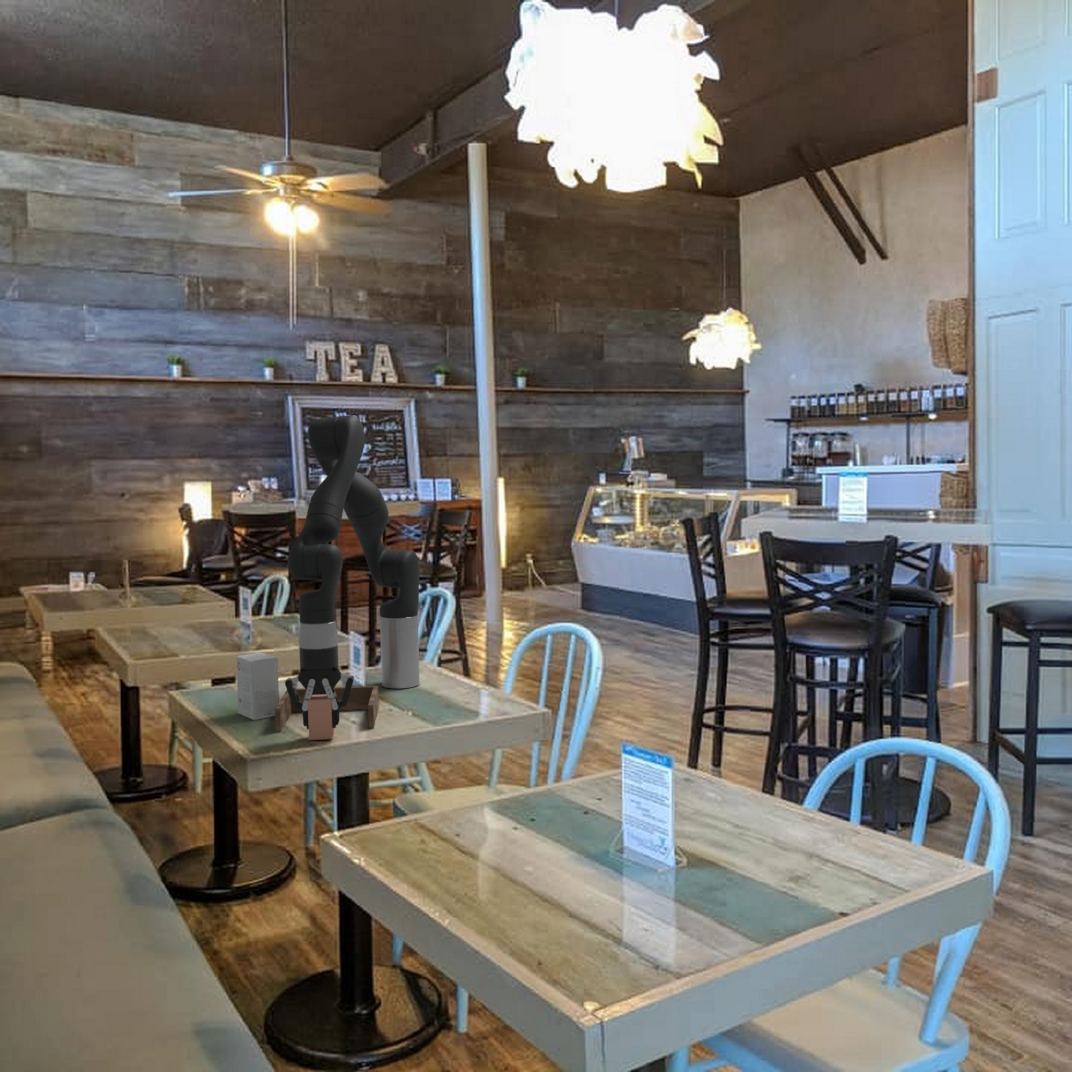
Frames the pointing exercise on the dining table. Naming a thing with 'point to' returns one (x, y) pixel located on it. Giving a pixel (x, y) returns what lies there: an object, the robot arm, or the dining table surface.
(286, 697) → the u-shaped bracket
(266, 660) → the small box
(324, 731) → the terracotta block
